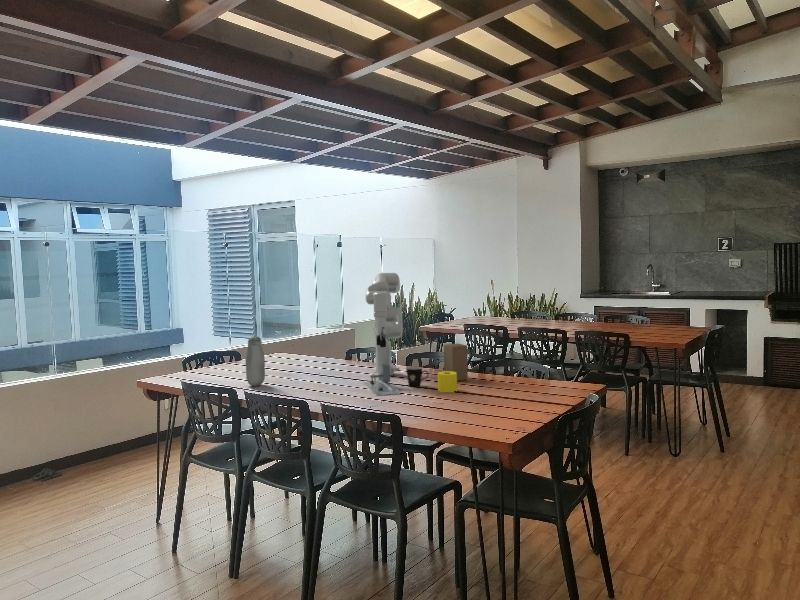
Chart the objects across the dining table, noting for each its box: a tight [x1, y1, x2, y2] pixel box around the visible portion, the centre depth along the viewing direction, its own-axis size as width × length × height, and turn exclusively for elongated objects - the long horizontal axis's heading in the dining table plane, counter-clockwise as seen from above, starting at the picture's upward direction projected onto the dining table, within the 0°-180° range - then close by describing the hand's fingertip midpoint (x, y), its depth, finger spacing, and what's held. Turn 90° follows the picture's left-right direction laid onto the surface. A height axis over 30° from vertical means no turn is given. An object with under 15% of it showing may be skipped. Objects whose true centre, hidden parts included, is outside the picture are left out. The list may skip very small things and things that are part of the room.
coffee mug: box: [406, 366, 429, 388], centre depth 333 cm, size 12×9×10 cm
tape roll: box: [437, 370, 458, 393], centre depth 321 cm, size 10×10×9 cm
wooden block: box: [443, 343, 469, 381], centre depth 350 cm, size 10×10×20 cm
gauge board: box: [363, 374, 400, 397], centre depth 329 cm, size 12×30×6 cm, turn 16°
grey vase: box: [245, 335, 266, 387], centre depth 343 cm, size 10×10×28 cm
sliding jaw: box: [373, 364, 391, 383], centre depth 331 cm, size 9×5×9 cm, turn 106°
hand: (381, 346), depth 338 cm, fingers open, 7 cm apart
